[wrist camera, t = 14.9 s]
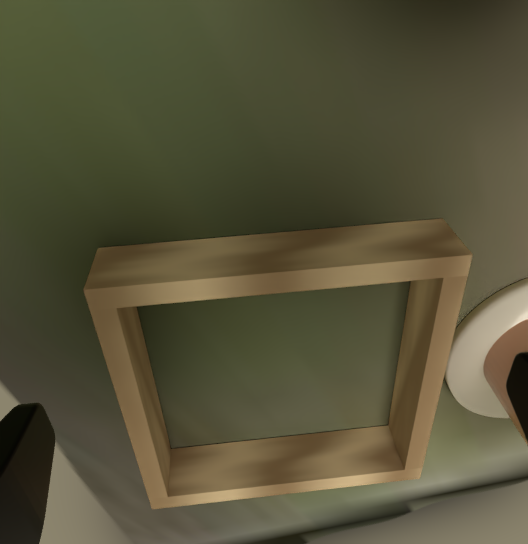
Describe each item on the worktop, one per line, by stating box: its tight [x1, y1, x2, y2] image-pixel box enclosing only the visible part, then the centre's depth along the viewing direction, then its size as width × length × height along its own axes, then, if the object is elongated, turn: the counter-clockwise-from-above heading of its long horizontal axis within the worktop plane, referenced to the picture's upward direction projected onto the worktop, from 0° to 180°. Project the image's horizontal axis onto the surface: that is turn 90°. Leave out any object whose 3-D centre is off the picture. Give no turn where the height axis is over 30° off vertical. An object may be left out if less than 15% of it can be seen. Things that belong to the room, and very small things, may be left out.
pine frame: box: [83, 218, 473, 509], centre depth 24 cm, size 15×15×3 cm
